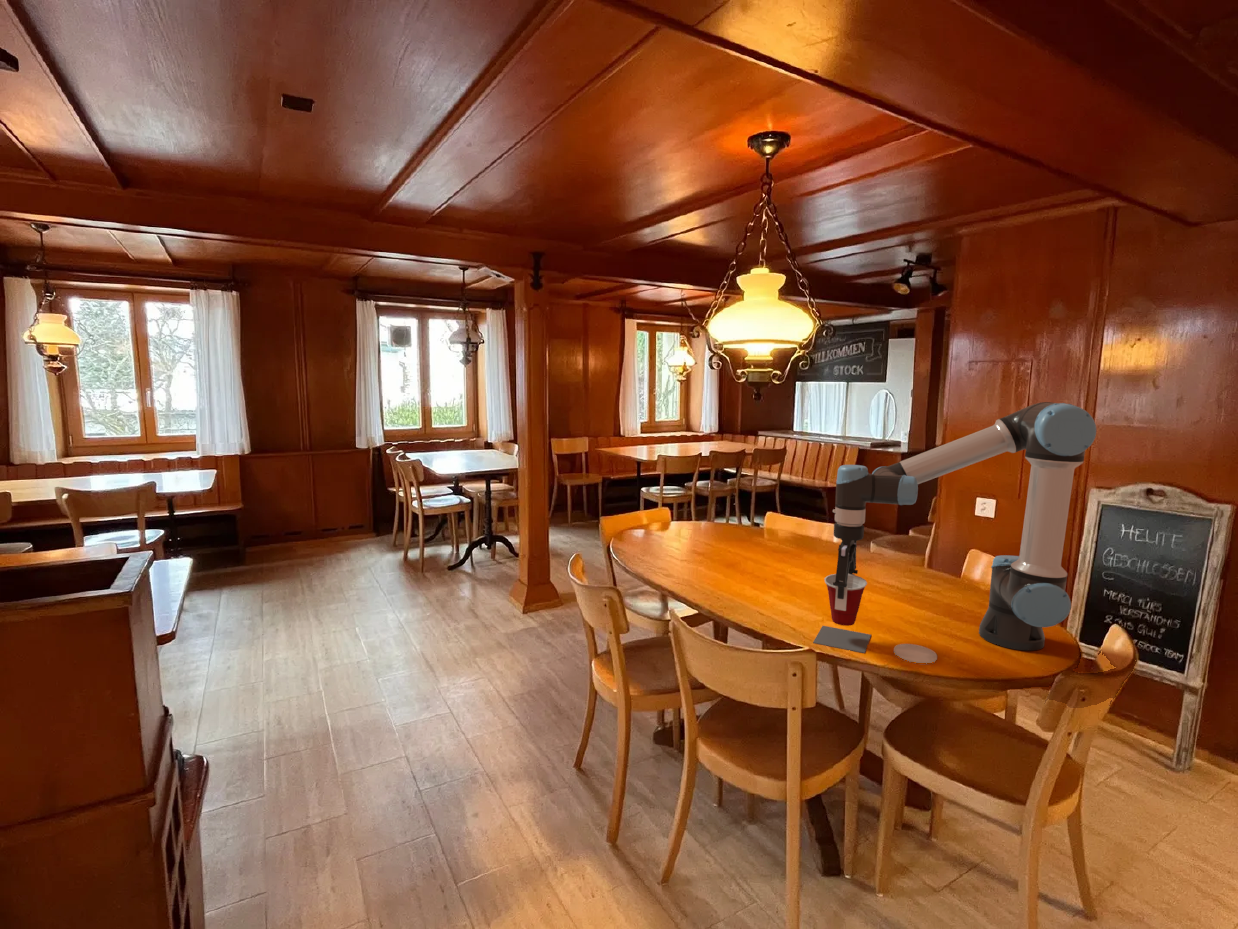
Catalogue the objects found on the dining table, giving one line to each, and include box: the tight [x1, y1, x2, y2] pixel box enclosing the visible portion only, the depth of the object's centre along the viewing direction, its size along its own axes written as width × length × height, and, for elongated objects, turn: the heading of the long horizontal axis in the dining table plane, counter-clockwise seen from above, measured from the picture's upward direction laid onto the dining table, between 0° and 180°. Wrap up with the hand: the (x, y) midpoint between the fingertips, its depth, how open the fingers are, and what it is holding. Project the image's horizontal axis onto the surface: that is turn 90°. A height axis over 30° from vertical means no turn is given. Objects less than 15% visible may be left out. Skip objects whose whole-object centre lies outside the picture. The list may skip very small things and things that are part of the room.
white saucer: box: [893, 643, 938, 665], centre depth 159 cm, size 10×10×1 cm
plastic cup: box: [823, 573, 868, 627], centre depth 167 cm, size 11×11×12 cm
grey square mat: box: [812, 625, 872, 655], centre depth 169 cm, size 13×13×1 cm
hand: (844, 602), depth 167 cm, fingers closed on plastic cup, 11 cm apart
